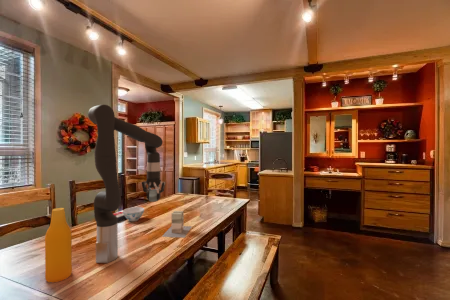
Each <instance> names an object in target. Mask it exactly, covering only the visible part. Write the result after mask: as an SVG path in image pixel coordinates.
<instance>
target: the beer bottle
mask: <svg viewBox="0 0 450 300" xmlns="http://www.w3.org/2000/svg"><path fill="white" fill-rule="evenodd" d="M65 211H66V210H65V207H59V208H58V207H57V208H56V207H55V208H52V210H51V217H50V224H49V227H48V228H47V230H46V232H45V237H44V243H45V244H44V254H45V255H44V257H45V258H44V259H45V262H44V263H45V264H44V265H45V269H44V270H45V273H44V275H45V276H44V277H45V281H46V282H47V283H50V282H52V284H53V283H57V282H62V281H64V280H66V279H68V278H69V277H70V276H71V275H72V272H73V263H72V261H73V259H72V255H73V253H72V251H73V250H72V248H73V247H72V246H73V245H72V244H73V243H72V230H71V228H70V226H69V224H68V223H67V219H66V212H65Z"/></svg>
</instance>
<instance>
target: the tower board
mask: <svg viewBox="0 0 450 300" xmlns="http://www.w3.org/2000/svg"><path fill="white" fill-rule="evenodd" d="M192 227H193V226H189V225H187V226H186V225H184V230H183V231H182V232H181V233H172V225H171V226H170V227H169V228H168V229H167V230H166V231H165V232H164V234H163V235H162V236H161V238H162V237H163V238H183V239H184V238H186V236H187V234H188V233H189V232H190V230H191V229H192Z"/></svg>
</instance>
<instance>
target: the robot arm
mask: <svg viewBox="0 0 450 300" xmlns="http://www.w3.org/2000/svg"><path fill="white" fill-rule="evenodd" d="M87 116H88V118H89V120H90V121H91V122H92V123H93V124H95V125H96V130H97V140H96V142H95V147H94V164H95V168H96V171H97V172H98V174H99V176H100V177H101V179H102V182H103V184H104V187H105V190H101V191H100V192H98V193H97V194H96V195H95V196H94V199H93V212H94V213H93V214H94V216H93V217H94V220H95V222H96V243H95V263H98V264H108V263H111V262H114V261H115V260H116V259H117V258H118V256H119V251H118V249H119V248H118V246H119V244H118V243H119V240H118V239H119V238H118V232H119V231H118V229H119V228H118V225H119V224H118V223H119V222H118V220H117V217H116V216H115V215H114V213H113V212H115V211H118V210H119V208H120V206H121V203H122V195H121V190H120V184H119V178H118V166H117V164H118V163H117V154H116V153H117V152H116V141H115V139H116V138H115V131H116V132H118V133H120V134H123V135H125V136H127V137H129V138H131V139H133V140H135V141H137V142H139V143H144V148H145V152H146V155H147V156H146V160H147V163H146V180H145V181H141V187H142V192H143V193H146V199H147V200H148V201H149V190H152V189H153V188H154V190H156V191H157V200H158V201H159V200H160V199H161V193H163V192H164V191H165V188H166V181H162V180H161V155H160V152H158V151H157V148H160V147H161V146H163V139H162V137H160V136H159V135H158V134H155V133H154V132H150V131H147V130H146V129H143V128H141V127H140V126H138V125H136V124H133V123H131V122H128V121H125V120H122V119H120V118H118V117H116V115H115V111H114V109H113V108H112V107H111V106H109V105H108V104H99V105H95V106H92V107H91V108H89V110H88V112H87ZM160 186H161V187H160Z"/></svg>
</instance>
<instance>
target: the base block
mask: <svg viewBox="0 0 450 300" xmlns="http://www.w3.org/2000/svg"><path fill="white" fill-rule="evenodd" d="M184 221H185V220H184ZM184 221H183V222H182V223H181V224H178V223H172V222H171V226H172V233H181V232H182V231H183V230H184V226H185V225H184V224H185V223H184Z"/></svg>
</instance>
